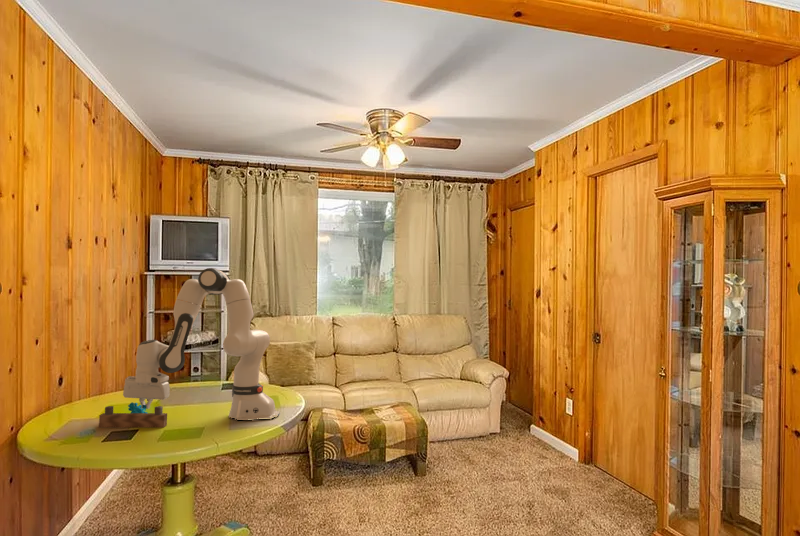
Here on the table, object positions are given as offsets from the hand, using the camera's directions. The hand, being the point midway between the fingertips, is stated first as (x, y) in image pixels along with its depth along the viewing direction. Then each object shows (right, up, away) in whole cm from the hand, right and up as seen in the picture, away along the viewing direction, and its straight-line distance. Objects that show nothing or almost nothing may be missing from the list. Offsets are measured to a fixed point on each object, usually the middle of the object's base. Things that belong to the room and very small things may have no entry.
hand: (145, 408), depth 205 cm
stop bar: (+1, -4, -11) cm, 12 cm away
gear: (-2, -5, -2) cm, 5 cm away
